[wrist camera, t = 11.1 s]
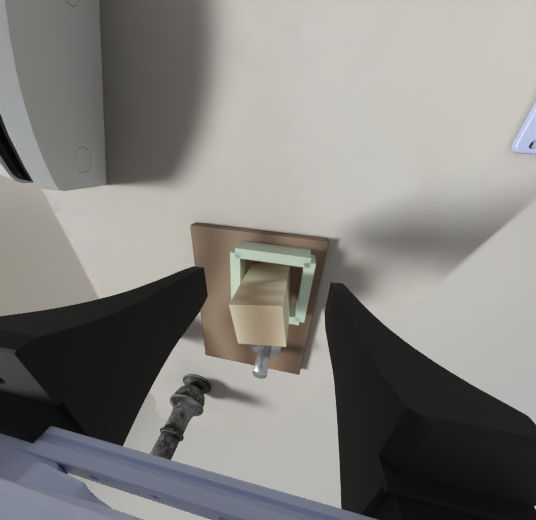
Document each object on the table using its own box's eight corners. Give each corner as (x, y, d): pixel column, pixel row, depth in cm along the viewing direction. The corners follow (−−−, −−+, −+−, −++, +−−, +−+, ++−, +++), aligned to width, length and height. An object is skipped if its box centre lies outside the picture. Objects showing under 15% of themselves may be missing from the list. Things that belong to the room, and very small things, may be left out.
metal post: (283, 335, 24) (278, 366, 20) (280, 356, 26) (275, 388, 22) (252, 329, 25) (242, 358, 21) (251, 350, 26) (242, 380, 23)
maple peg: (289, 262, 19) (282, 306, 13) (291, 294, 21) (286, 347, 15) (252, 262, 20) (228, 304, 14) (257, 293, 22) (238, 343, 16)
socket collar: (315, 250, 18) (316, 258, 17) (303, 313, 22) (303, 326, 20) (236, 240, 19) (229, 247, 18) (237, 302, 23) (231, 313, 21)
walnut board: (327, 238, 19) (328, 241, 18) (299, 368, 28) (299, 374, 27) (195, 222, 21) (190, 225, 20) (208, 349, 29) (205, 354, 29)
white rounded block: (27, -86, 13) (-351, -495, 5) (110, -37, 14) (-62, -278, 6) (63, 169, 21) (-52, 190, 12) (114, 184, 22) (42, 212, 14)
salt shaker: (211, 397, 35) (171, 495, 25) (182, 388, 36) (130, 480, 25) (213, 378, 33) (169, 480, 22) (181, 369, 33) (123, 464, 23)
